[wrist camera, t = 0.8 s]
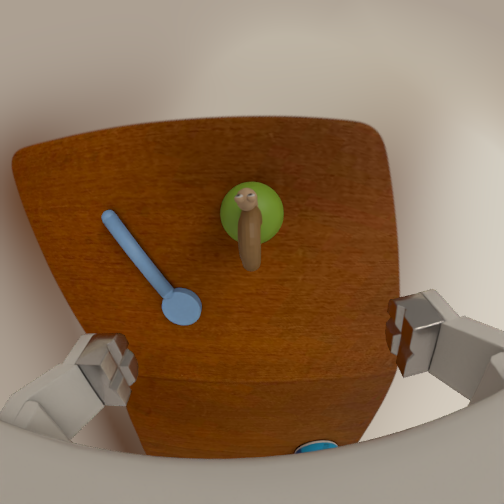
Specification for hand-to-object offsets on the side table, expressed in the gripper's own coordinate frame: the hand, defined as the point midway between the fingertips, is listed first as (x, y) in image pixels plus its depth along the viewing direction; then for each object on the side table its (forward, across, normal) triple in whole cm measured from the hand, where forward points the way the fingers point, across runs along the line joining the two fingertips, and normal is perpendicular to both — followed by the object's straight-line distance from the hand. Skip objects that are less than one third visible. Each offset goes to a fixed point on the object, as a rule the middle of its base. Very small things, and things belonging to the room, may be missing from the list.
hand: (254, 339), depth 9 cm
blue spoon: (+21, +12, +6) cm, 25 cm away
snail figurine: (+21, 0, +1) cm, 21 cm away
